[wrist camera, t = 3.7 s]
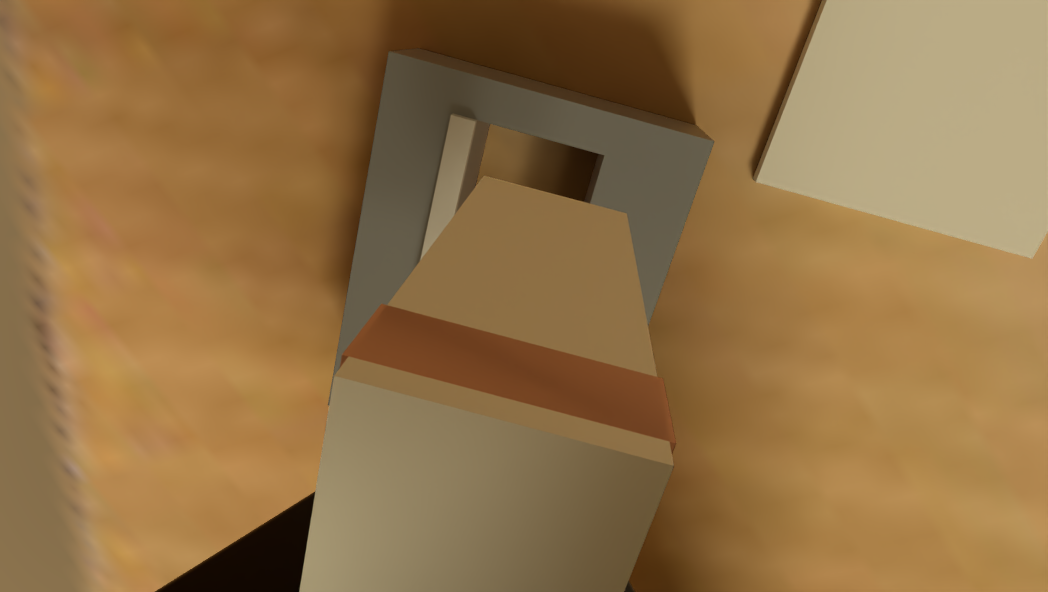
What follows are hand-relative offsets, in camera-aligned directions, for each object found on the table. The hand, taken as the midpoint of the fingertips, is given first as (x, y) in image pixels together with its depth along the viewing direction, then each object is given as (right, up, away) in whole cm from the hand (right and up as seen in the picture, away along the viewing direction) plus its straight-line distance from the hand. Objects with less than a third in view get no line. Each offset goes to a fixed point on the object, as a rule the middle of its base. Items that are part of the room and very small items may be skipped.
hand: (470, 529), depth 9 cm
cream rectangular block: (0, +1, +4) cm, 4 cm away
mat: (+12, +9, +9) cm, 18 cm away
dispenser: (0, +4, +12) cm, 13 cm away
